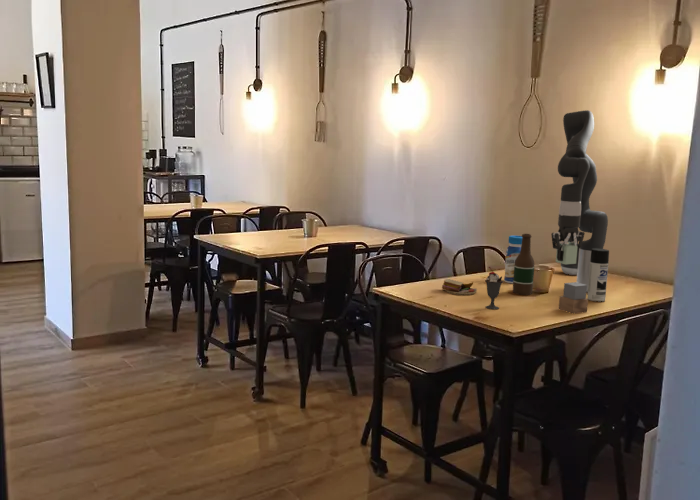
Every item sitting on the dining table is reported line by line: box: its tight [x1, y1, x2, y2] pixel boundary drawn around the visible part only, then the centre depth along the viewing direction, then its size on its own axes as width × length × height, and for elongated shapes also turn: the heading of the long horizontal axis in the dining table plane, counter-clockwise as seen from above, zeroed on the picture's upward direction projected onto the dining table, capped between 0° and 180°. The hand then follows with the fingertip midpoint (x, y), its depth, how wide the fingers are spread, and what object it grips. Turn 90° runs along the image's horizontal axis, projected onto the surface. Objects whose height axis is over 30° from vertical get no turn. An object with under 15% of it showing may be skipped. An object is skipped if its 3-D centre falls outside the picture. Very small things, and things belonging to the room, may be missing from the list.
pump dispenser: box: [560, 248, 579, 276], centre depth 315 cm, size 10×10×15 cm
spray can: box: [586, 248, 610, 303], centre depth 263 cm, size 7×7×20 cm
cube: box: [562, 281, 587, 300], centre depth 245 cm, size 6×6×5 cm
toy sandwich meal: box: [441, 278, 477, 296], centre depth 271 cm, size 12×14×5 cm
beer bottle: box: [512, 233, 535, 296], centre depth 271 cm, size 8×8×24 cm
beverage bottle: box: [503, 235, 522, 284], centre depth 292 cm, size 8×8×20 cm
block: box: [555, 243, 577, 264], centre depth 245 cm, size 5×5×6 cm
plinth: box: [558, 295, 589, 315], centre depth 246 cm, size 7×7×5 cm
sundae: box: [484, 266, 504, 310], centre depth 245 cm, size 7×7×15 cm
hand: (565, 260), depth 245 cm, fingers closed on block, 5 cm apart
